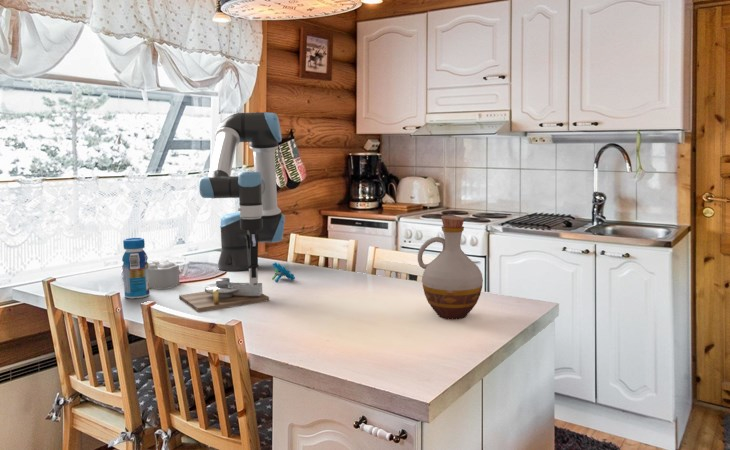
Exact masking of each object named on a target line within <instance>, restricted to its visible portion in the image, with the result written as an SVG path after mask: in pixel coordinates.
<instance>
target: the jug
mask: <svg viewBox="0 0 730 450" xmlns="http://www.w3.org/2000/svg"><path fill="white" fill-rule="evenodd" d="M440 218H441V222H442V226H441V231H442V232H443V236H444V238H443V237H442V236H441V237H440V236H435V237H431V238H429V239H427V240H426V241H424V243H423V244H421V247H420V248H419V250H418V252H417V262H418V265H419V267H420V268H422V269H424V270H423V272H422V278H421V282H422V283H421V284H422V288H423V292H424V296H425V298H426V301H427V303H428V304H429V305H430V307H431V309H432V311H434V313H436V315H438V317H439V318H441V319H444V320H451V321H453V320H454V321H455V320H463V319H465V318H466V317H467V316H468V315H469V314H470V313H471V311H472V310H473V309H474V308H475V306H476V305H477V303H478V301H479V298H480V296H481V293H482V289H483V283H484V278H483V274H482V273H483V272H481V270H480V267H479V266H478V265H477V264H476V263H475V262H474V261H473V260H472V259H471V258H469V256H468V255H467V254H466V253H465V252H464V250H462V248H461V247H462V246H461V244H462V243H461V241H462V234H463V232H464V228H465V226H463V224H464V221H465V217H462V216H457V215H441V217H440ZM433 243H440V244H442V251H441V252H440V253H439V254H438V255H437V256H436V257H435V258H434V259H433V260H431V261H430V262H428V263H424V260H423V254H424V253H425V251H426V249H427V248H428V247H429V246H430V245H431V244H433Z"/></svg>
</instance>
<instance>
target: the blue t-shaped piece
mask: <svg viewBox="0 0 730 450" xmlns="http://www.w3.org/2000/svg"><path fill="white" fill-rule="evenodd" d="M272 266H273V268H274V269H275V270H274V276H273V277H272V278H271V280H273V281H275V283H278V282H279V280H280V279H281V278H282V277H286V278H287V279H290V280H291V281H293V280H295V279H296V276H295V275H294V273H291V271H290V270H289V269H286V266H284V265H283V266H282V265H281V264H280V263H277V262H273V263H272Z"/></svg>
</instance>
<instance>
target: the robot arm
mask: <svg viewBox="0 0 730 450" xmlns="http://www.w3.org/2000/svg"><path fill="white" fill-rule="evenodd" d="M280 124H281V123H280V119H279V116H278V114H277V113H275V112H266V111H265V112H264V111H263V112H262V111H259V112H258V111H257V112H235V113H233V114H231V115H229V116H227V117H226V118H225V119H223V120H222V121H221V122H220V124H219V125H218V126H217V128H216V130H215V134H214V140H215V144H214V145H215V146H214V151H213V154H212V159H211V164H210V167H209V172H208V175H206V176H201V177H200V178H199V183H198V186H199V187H198V188H199V194H200V196H201V197H202V198H204V199H237V198H239V199H238V200H239V203H238V204H239V207H238V208H237V212H233V213H232V212H231V213H227V214H224V215H222V216H221V217H220V226H219V227H220V241H221V243H220V245H221V251H220V255H219V259H218V260H217V261H218V262H217V269H218V268H219V269H221V270H220V271H224V270H226V272H238V271H239V272H240V271H246V270H248V279H249V280H248V281H249V282H248V283H259V280H258V279H259V278H258V277H259V276H258V275H259V274H258V267H259V266H260V265H259V244H260V243H261V244H262V243H271V244H272V243H279V242H281V241H282V240H283V238H284V231H285V223H286V221H285V220H286V216H285V214H283V213H282V210H281V208H279V207H278V194H277V193H278V192H277V190H278V189H277V173H276V172H277V171H276V151H275V150H276V149H277V148H278V147H279V143H281V142H282V140H283V137H282V129H281V125H280ZM240 143H248V147H249V148H250V150H252V151H253V152H252V153H253V169H254V171H241V172H238V175H237V176H235V175H233V176H232V175H231V173H232V171H233V170H232V169H233V163H234V158H235V153H236V148H237V146H239V144H240ZM219 269H218V270H219Z"/></svg>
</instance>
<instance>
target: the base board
mask: <svg viewBox="0 0 730 450" xmlns="http://www.w3.org/2000/svg"><path fill="white" fill-rule="evenodd" d="M178 296H179V297H178V299H179V300H180V301H182V302H183V303H184V304H185V305H188V306H189V307H190V308H191V309H193V310H194V311H196V312H197V313H200V312H207V311H212V310H217V309H224V308H231V307H236V306H238V307H239V306H242V305H248V304H255V303H256V304H257V303H261V302H268V301H270V297H269V296H268V295H265V294H264V293H262V294H261V295H260V296H255V295H234V294H233V293H230V294H219V304H217V305H215V304H214V298H213V294H209V293H206V292H205V291H198V292H193V293H192V292H191V293H185V294H178Z"/></svg>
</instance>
